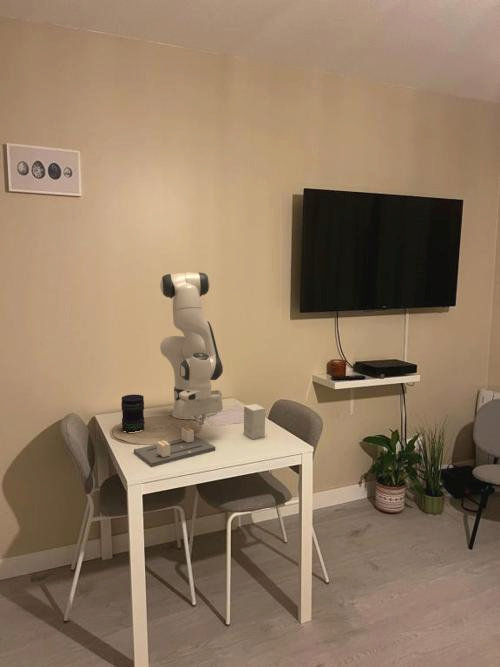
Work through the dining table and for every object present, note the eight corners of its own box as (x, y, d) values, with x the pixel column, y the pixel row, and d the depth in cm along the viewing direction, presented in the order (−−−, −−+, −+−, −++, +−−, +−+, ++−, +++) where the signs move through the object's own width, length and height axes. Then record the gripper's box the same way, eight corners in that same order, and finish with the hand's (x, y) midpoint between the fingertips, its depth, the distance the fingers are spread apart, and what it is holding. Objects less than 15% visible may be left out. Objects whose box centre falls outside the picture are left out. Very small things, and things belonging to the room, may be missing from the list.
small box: (265, 437, 216) (265, 408, 214) (252, 439, 213) (252, 410, 211) (255, 431, 223) (256, 403, 221) (243, 434, 220) (243, 405, 218)
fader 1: (164, 451, 194) (164, 439, 194) (170, 455, 190) (170, 443, 190) (157, 453, 193) (157, 441, 192) (163, 457, 189) (163, 445, 188)
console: (195, 438, 214) (195, 434, 213) (215, 450, 201) (215, 446, 201) (133, 453, 197) (133, 449, 197) (151, 466, 184) (151, 462, 184)
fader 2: (187, 437, 210) (187, 426, 209) (193, 441, 206) (193, 430, 205) (181, 439, 208) (181, 428, 207) (187, 442, 204) (187, 431, 203)
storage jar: (149, 429, 224) (148, 397, 222) (130, 435, 217) (129, 401, 215) (135, 424, 231) (135, 393, 228) (117, 429, 223) (116, 397, 221)
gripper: (217, 388, 216) (217, 419, 218) (175, 394, 204) (175, 426, 206) (225, 391, 211) (225, 422, 212) (182, 397, 199) (182, 430, 200)
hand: (200, 424), depth 209 cm, fingers closed
